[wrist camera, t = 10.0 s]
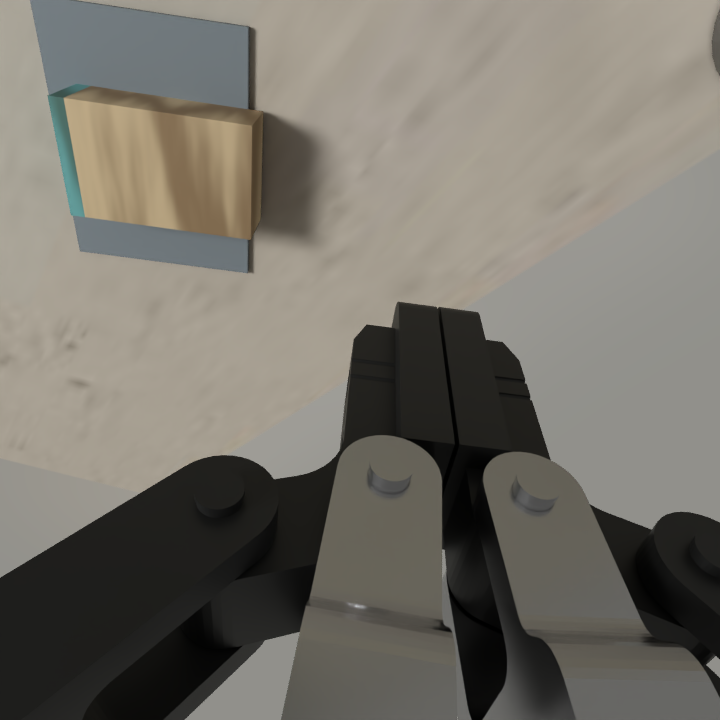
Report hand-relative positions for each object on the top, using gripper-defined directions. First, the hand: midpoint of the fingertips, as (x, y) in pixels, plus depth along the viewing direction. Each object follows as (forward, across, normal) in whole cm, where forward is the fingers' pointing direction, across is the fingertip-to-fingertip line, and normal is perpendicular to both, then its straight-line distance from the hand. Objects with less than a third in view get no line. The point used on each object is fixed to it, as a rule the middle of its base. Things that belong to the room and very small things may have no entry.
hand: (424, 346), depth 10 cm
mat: (+33, +17, +8) cm, 38 cm away
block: (+30, +9, +8) cm, 33 cm away
